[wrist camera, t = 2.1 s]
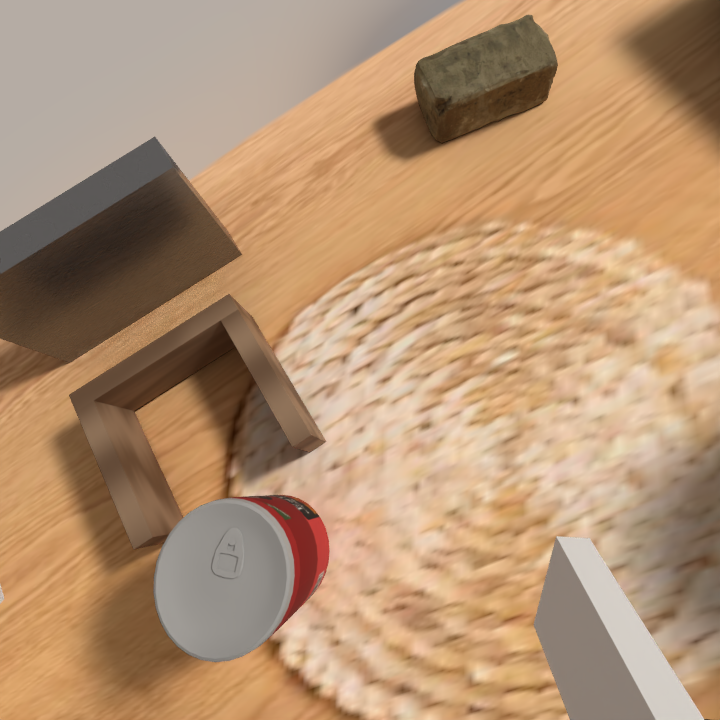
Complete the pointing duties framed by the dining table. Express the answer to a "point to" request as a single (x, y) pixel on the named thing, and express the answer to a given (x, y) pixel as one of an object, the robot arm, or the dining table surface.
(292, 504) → the canned food
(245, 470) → the dining table surface
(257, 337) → the walnut bracket
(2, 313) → the backstop wall
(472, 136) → the dining table surface
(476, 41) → the stone block
